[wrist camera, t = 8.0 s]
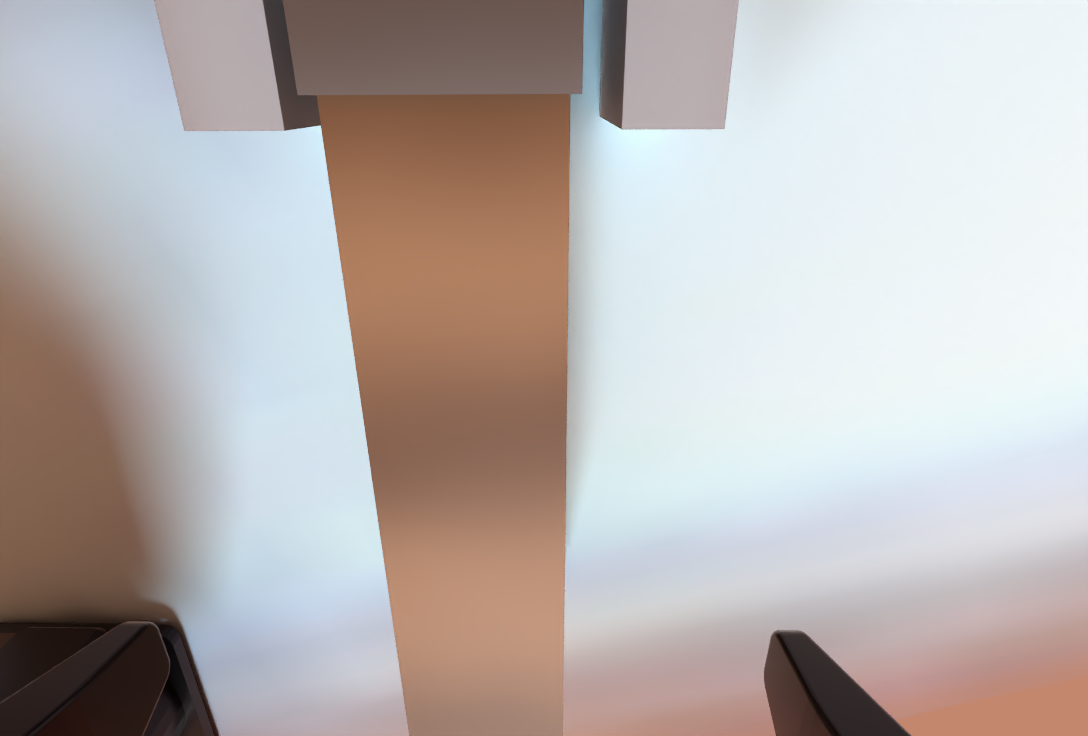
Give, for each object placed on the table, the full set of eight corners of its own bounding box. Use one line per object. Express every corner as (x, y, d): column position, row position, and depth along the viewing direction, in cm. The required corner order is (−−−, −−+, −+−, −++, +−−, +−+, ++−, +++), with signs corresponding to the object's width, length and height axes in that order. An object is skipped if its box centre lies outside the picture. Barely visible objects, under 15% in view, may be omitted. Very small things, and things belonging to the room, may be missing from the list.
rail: (565, 582, 19) (569, 768, 14) (444, 581, 19) (402, 766, 14) (572, -14, 13) (586, -90, 7) (388, -13, 13) (268, -88, 7)
